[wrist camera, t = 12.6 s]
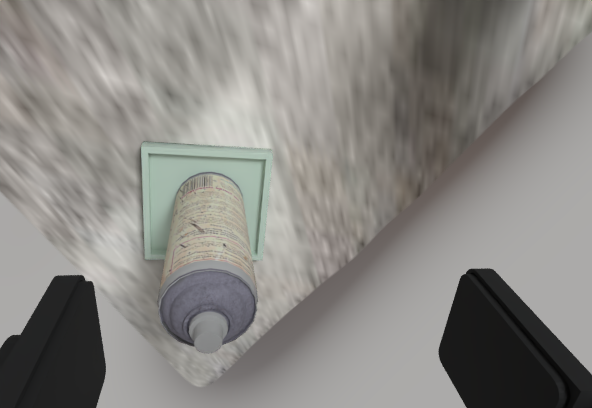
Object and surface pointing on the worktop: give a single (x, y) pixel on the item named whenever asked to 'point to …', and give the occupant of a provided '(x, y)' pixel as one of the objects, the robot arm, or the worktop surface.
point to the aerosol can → (208, 265)
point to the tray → (190, 161)
